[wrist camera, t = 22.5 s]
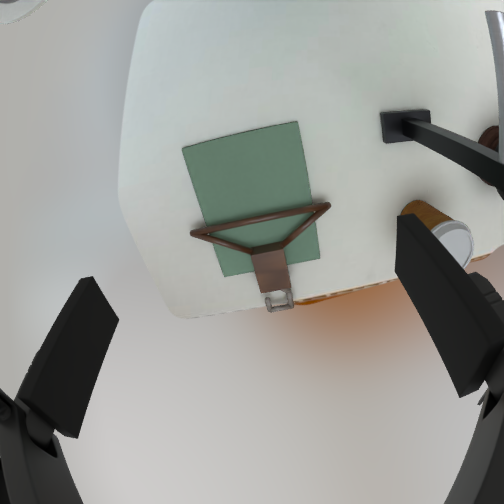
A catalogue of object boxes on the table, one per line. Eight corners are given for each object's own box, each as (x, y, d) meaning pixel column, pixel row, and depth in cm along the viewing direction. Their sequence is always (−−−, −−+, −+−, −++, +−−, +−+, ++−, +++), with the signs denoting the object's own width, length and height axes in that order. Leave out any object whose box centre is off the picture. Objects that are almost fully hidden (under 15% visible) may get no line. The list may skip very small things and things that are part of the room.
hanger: (190, 227, 46) (224, 314, 55) (187, 235, 44) (223, 324, 53) (328, 198, 43) (338, 293, 53) (332, 204, 41) (341, 302, 51)
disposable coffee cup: (407, 251, 49) (437, 294, 39) (380, 216, 45) (412, 257, 35) (445, 218, 45) (483, 255, 35) (422, 179, 42) (464, 211, 32)
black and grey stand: (383, 141, 39) (483, 209, 19) (364, 30, 30) (470, 2, 11) (428, 137, 38) (536, 198, 18) (413, 31, 29) (531, 22, 10)
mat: (319, 256, 49) (320, 258, 49) (224, 275, 51) (224, 277, 51) (297, 121, 38) (297, 121, 37) (182, 148, 40) (181, 149, 39)
